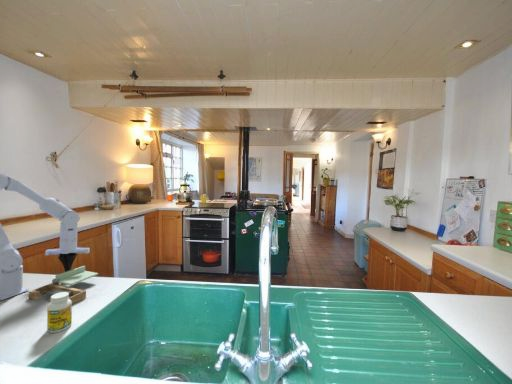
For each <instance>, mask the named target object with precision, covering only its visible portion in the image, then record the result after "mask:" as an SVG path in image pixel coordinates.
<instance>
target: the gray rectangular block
mask: <svg viewBox="0 0 512 384" xmlns="http://www.w3.org/2000/svg"><path fill="white" fill-rule="evenodd" d="M60 292H68V293H69V297H72V292H73V291H59V290H51V291H48V292H46V293H45V300H51V296H52V295H54V294H56V293H60Z"/></svg>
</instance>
